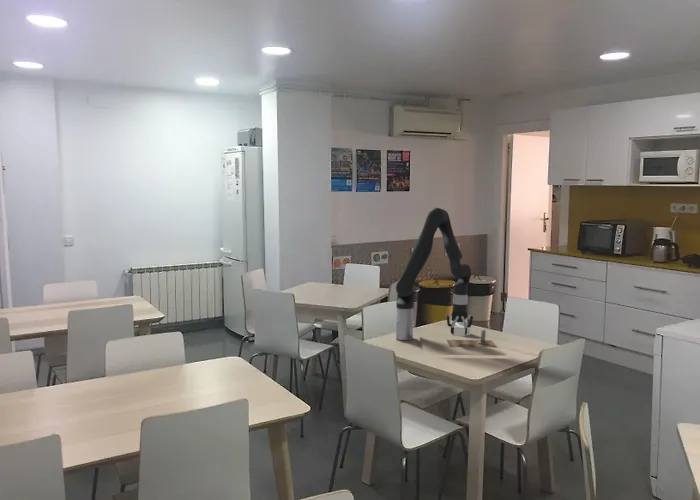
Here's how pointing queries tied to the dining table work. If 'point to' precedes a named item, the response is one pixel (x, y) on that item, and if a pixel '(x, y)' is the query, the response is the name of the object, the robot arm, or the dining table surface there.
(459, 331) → the cap
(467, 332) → the medicine bottle
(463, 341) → the post board
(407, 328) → the robot arm
